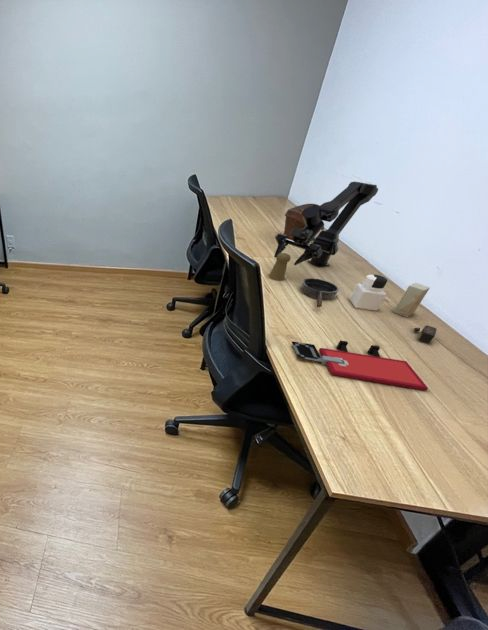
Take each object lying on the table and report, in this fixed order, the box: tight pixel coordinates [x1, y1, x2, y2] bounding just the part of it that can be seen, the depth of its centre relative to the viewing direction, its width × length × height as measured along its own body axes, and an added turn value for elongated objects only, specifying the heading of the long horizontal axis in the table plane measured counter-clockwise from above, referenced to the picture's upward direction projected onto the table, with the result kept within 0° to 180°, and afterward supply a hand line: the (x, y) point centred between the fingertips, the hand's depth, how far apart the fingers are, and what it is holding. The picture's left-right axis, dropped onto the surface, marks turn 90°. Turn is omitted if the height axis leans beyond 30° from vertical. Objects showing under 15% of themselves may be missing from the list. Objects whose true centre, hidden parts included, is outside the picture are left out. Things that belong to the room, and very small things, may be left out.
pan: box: [299, 277, 340, 301], centre depth 137 cm, size 12×12×4 cm
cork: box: [268, 252, 292, 281], centre depth 147 cm, size 6×6×11 cm
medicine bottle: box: [349, 273, 388, 312], centre depth 126 cm, size 7×7×12 cm
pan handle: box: [316, 291, 323, 308], centre depth 128 cm, size 12×2×2 cm, turn 147°
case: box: [283, 203, 318, 240], centre depth 186 cm, size 18×20×18 cm
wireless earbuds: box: [413, 324, 438, 344], centre depth 111 cm, size 5×7×3 cm, turn 133°
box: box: [393, 282, 431, 318], centre depth 121 cm, size 5×4×11 cm
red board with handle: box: [291, 340, 429, 392], centre depth 100 cm, size 30×3×15 cm
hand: (284, 260), depth 146 cm, fingers open, 9 cm apart
